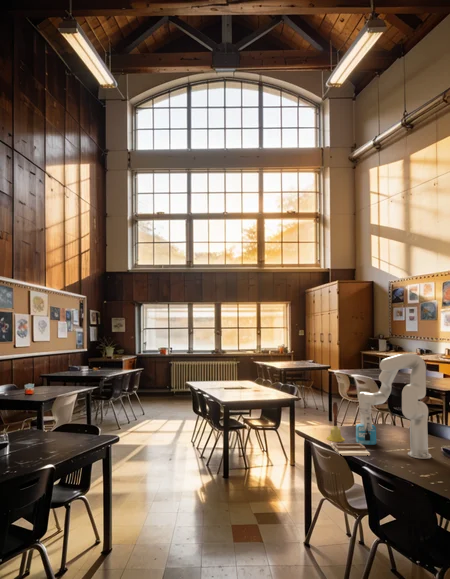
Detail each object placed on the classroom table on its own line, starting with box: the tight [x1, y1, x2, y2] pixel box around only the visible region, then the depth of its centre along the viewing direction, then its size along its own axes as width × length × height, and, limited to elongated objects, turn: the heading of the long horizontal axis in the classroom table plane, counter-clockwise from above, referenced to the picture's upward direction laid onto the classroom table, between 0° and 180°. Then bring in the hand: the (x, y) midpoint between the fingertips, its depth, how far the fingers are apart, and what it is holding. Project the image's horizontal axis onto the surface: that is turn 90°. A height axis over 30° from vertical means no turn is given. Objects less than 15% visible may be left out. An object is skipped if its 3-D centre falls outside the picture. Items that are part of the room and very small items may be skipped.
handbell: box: [326, 401, 346, 443], centre depth 297 cm, size 12×12×25 cm
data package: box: [355, 423, 377, 446], centre depth 285 cm, size 12×4×12 cm, turn 87°
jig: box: [329, 442, 371, 457], centre depth 269 cm, size 22×18×3 cm
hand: (366, 439), depth 285 cm, fingers closed on data package, 4 cm apart
